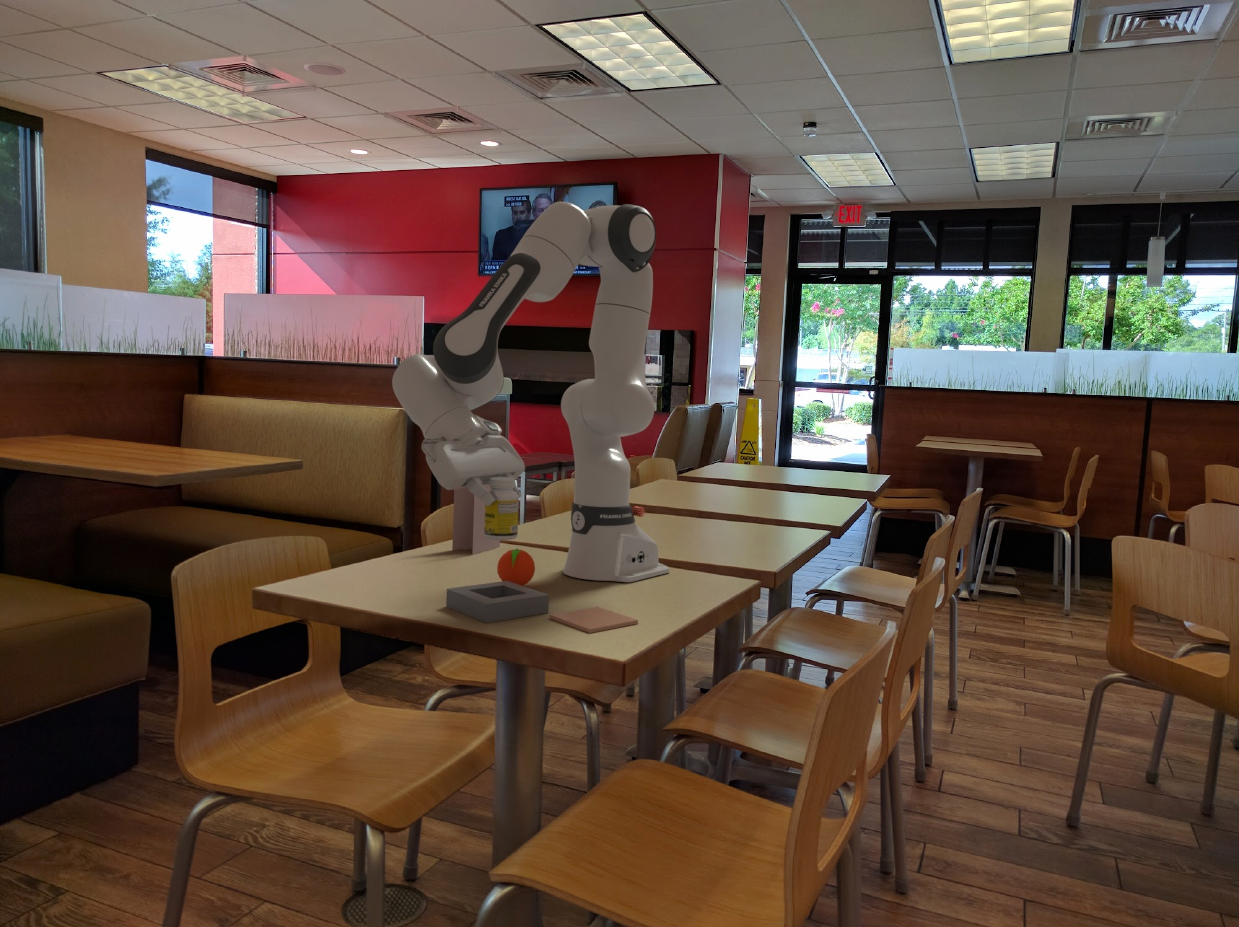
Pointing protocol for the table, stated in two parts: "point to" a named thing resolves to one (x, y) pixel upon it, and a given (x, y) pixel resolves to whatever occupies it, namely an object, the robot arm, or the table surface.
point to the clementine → (516, 567)
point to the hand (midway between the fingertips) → (505, 501)
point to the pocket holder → (497, 601)
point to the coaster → (593, 619)
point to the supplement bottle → (502, 511)
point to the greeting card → (470, 522)
